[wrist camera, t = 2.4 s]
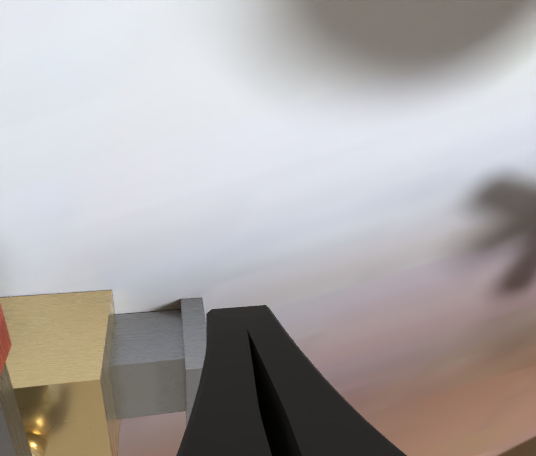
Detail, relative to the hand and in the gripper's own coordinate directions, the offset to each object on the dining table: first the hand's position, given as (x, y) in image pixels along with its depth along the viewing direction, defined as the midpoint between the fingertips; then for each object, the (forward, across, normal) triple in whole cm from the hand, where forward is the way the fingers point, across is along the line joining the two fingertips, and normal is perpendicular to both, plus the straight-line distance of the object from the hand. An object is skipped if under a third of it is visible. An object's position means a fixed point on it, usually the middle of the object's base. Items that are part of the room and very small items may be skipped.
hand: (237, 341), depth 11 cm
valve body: (+10, +7, +9) cm, 15 cm away
